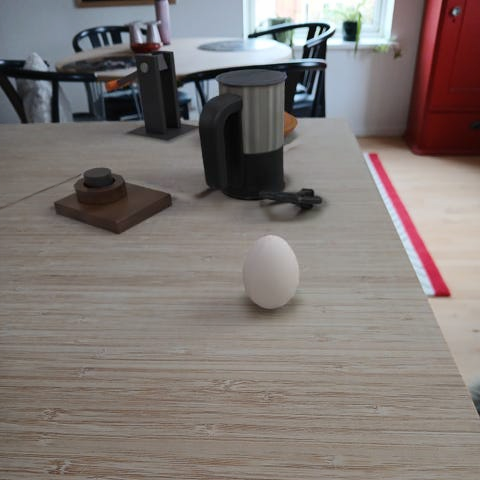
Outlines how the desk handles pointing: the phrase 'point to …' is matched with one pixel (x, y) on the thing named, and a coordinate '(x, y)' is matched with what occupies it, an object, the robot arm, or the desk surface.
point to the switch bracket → (159, 98)
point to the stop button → (98, 177)
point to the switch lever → (132, 76)
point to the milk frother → (248, 138)
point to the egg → (270, 272)
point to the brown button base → (112, 204)
